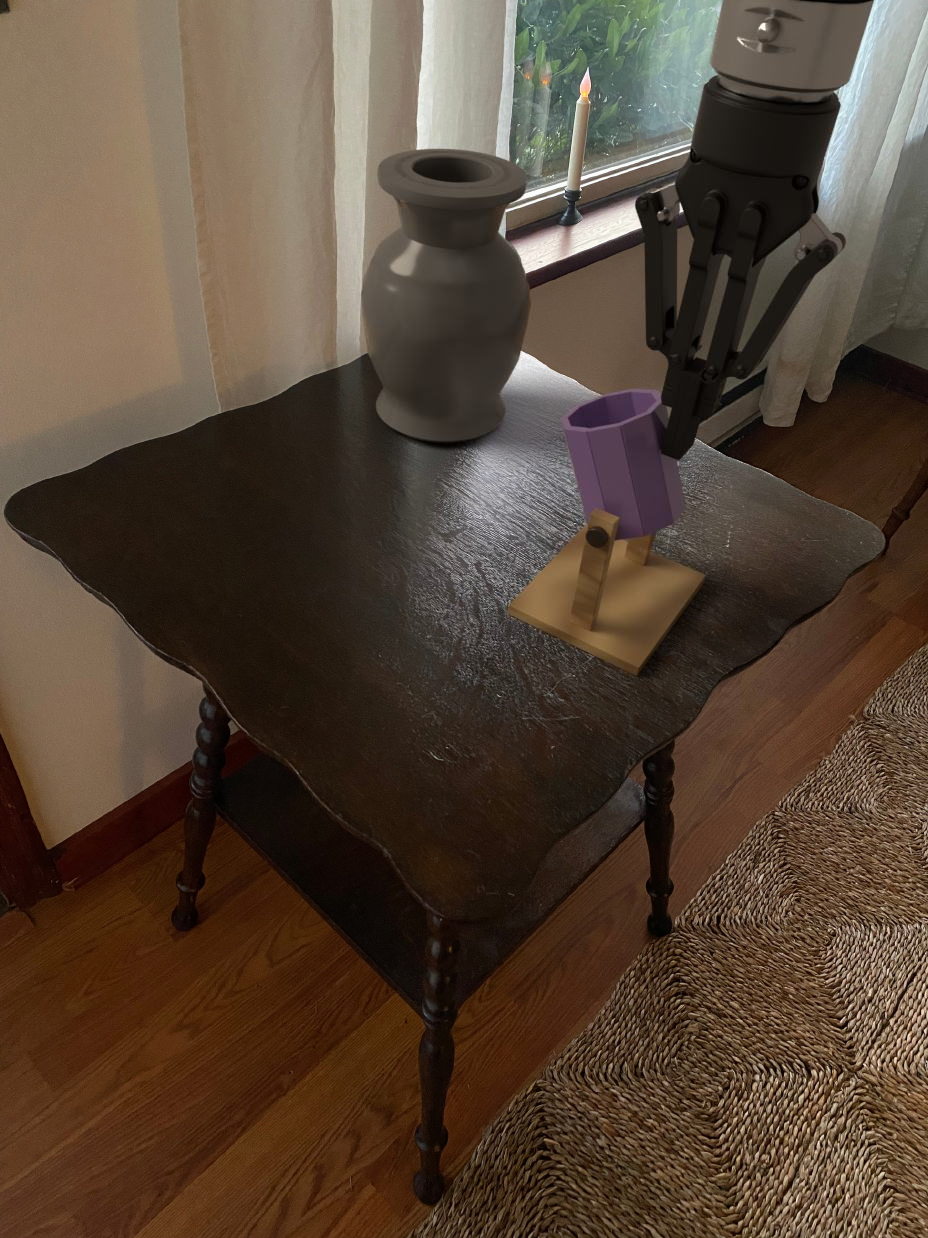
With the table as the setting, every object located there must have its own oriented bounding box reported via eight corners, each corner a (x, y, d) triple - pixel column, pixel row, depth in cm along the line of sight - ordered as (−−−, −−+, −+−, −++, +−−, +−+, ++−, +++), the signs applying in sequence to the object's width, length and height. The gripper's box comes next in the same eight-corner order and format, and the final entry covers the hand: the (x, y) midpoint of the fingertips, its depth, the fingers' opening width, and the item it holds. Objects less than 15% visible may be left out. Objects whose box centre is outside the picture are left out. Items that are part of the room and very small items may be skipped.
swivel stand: (703, 583, 80) (740, 470, 71) (636, 676, 71) (670, 559, 63) (584, 532, 84) (606, 419, 76) (507, 613, 75) (522, 497, 67)
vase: (348, 383, 101) (341, 142, 84) (488, 369, 106) (509, 137, 88) (384, 464, 90) (384, 205, 73) (539, 445, 94) (574, 196, 77)
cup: (702, 489, 71) (682, 381, 67) (655, 545, 66) (631, 431, 61) (617, 490, 76) (594, 389, 72) (567, 543, 70) (538, 436, 66)
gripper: (638, 70, 49) (574, 439, 65) (875, 122, 45) (743, 506, 61) (691, 49, 54) (619, 399, 70) (911, 94, 49) (779, 457, 66)
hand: (677, 448), depth 65 cm, fingers closed
